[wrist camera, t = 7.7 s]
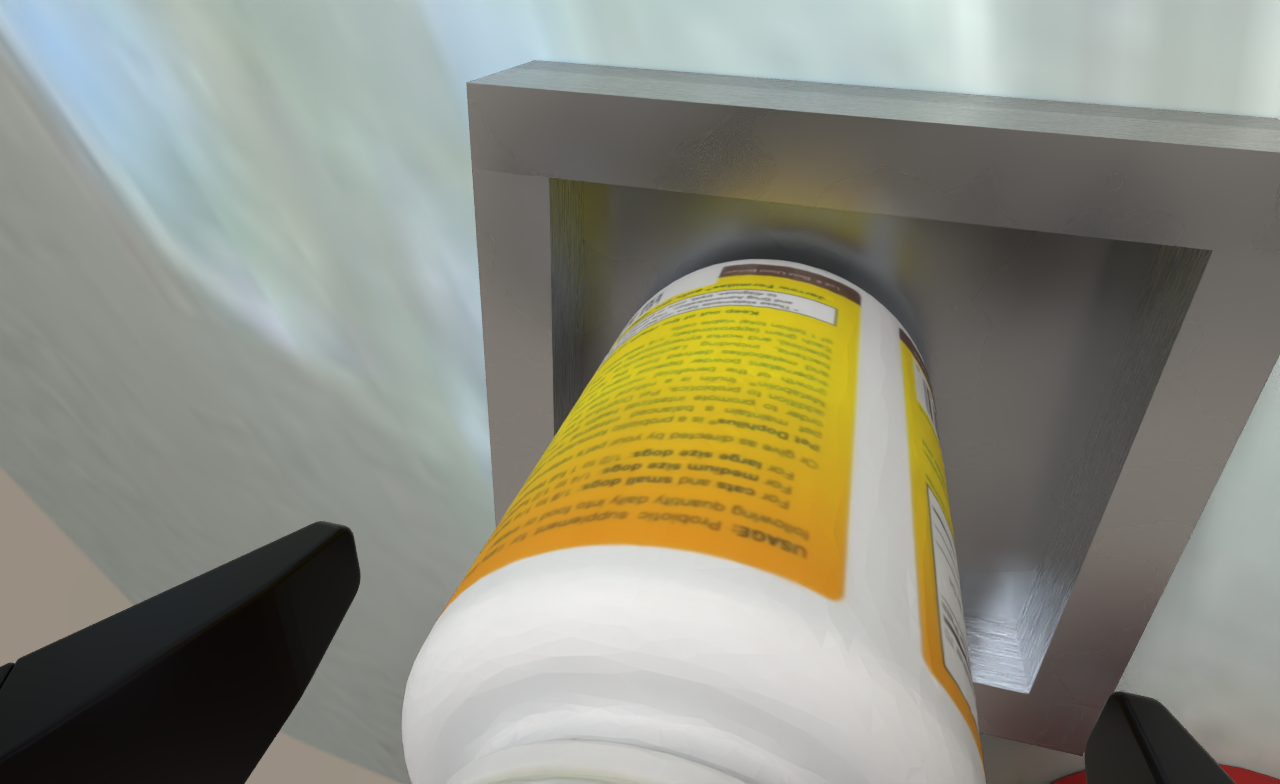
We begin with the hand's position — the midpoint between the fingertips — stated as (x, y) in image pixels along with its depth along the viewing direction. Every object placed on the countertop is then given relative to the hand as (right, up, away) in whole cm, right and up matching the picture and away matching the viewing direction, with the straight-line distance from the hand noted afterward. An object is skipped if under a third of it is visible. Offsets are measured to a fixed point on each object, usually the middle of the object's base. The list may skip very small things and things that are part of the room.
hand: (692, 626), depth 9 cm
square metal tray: (+3, +3, +5) cm, 7 cm away
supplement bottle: (+2, +3, +5) cm, 6 cm away
